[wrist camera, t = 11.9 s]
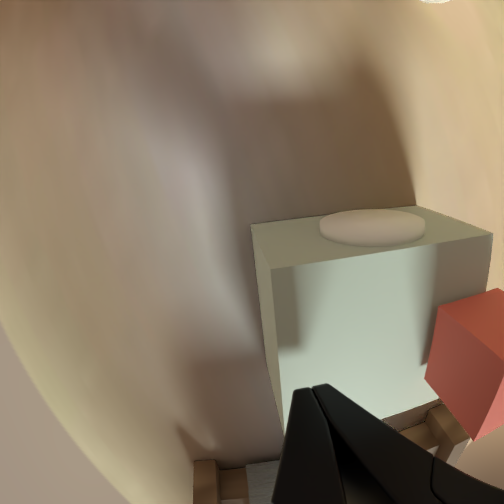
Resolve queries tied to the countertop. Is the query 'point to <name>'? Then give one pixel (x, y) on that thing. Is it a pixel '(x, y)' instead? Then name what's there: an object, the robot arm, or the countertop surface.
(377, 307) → the cabinet
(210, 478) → the brown i-shaped bar
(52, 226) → the countertop surface
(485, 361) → the red cube
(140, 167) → the countertop surface
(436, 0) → the white cup
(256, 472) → the carriage
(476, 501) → the robot arm
